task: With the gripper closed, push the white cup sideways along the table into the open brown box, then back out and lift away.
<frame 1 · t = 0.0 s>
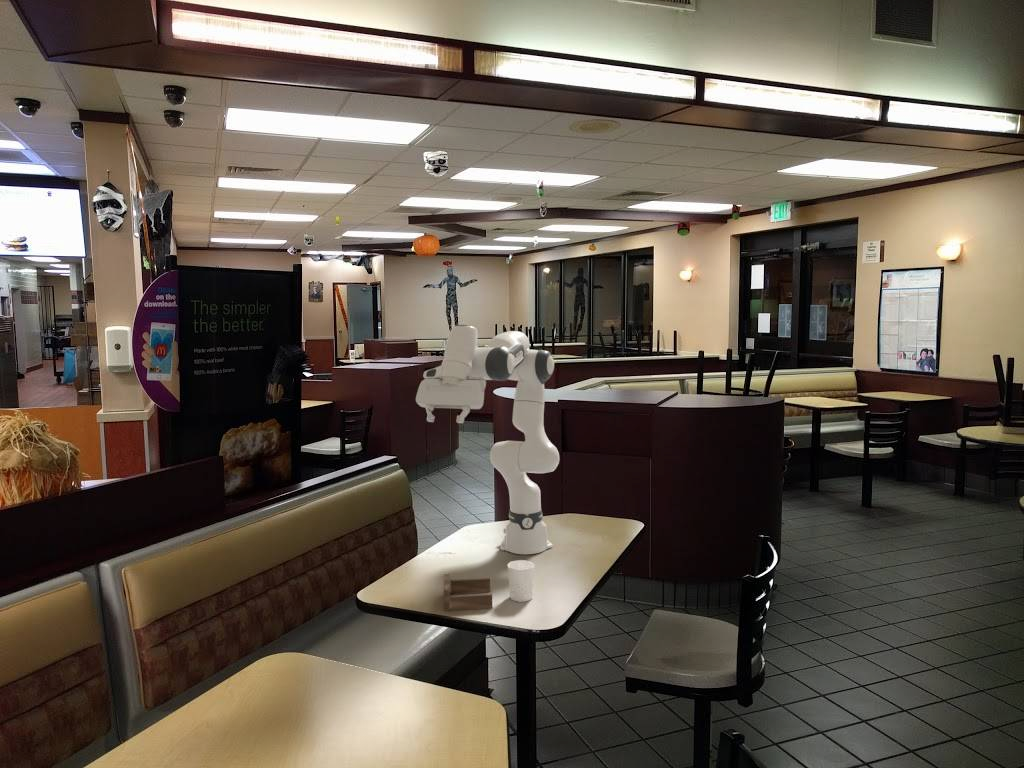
hand: (444, 421, 188), 54 cm above the table, tool tilted 30°, fingers open, 8 cm apart
open brown box: (471, 600, 200), on the table
white cup: (521, 598, 201), on the table
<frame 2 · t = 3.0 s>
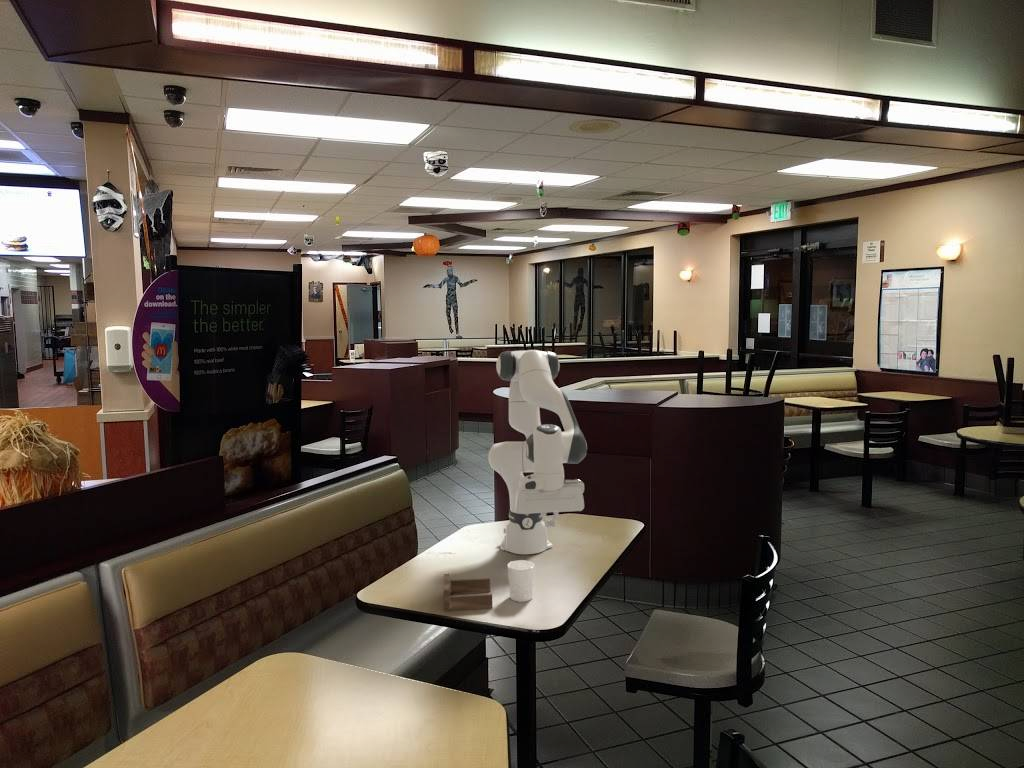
hand: (550, 526, 200), 21 cm above the table, tool pointing down, fingers closed
nothing on the table moved.
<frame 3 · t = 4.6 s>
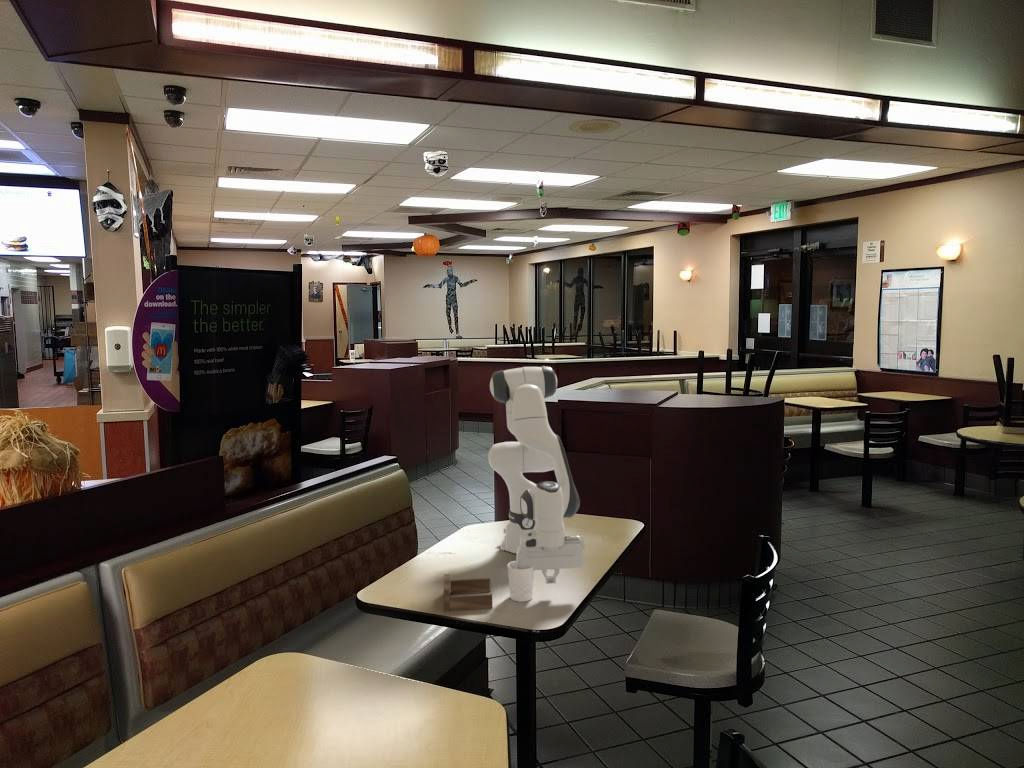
hand: (550, 582, 201), 4 cm above the table, tool pointing down, fingers closed
nothing on the table moved.
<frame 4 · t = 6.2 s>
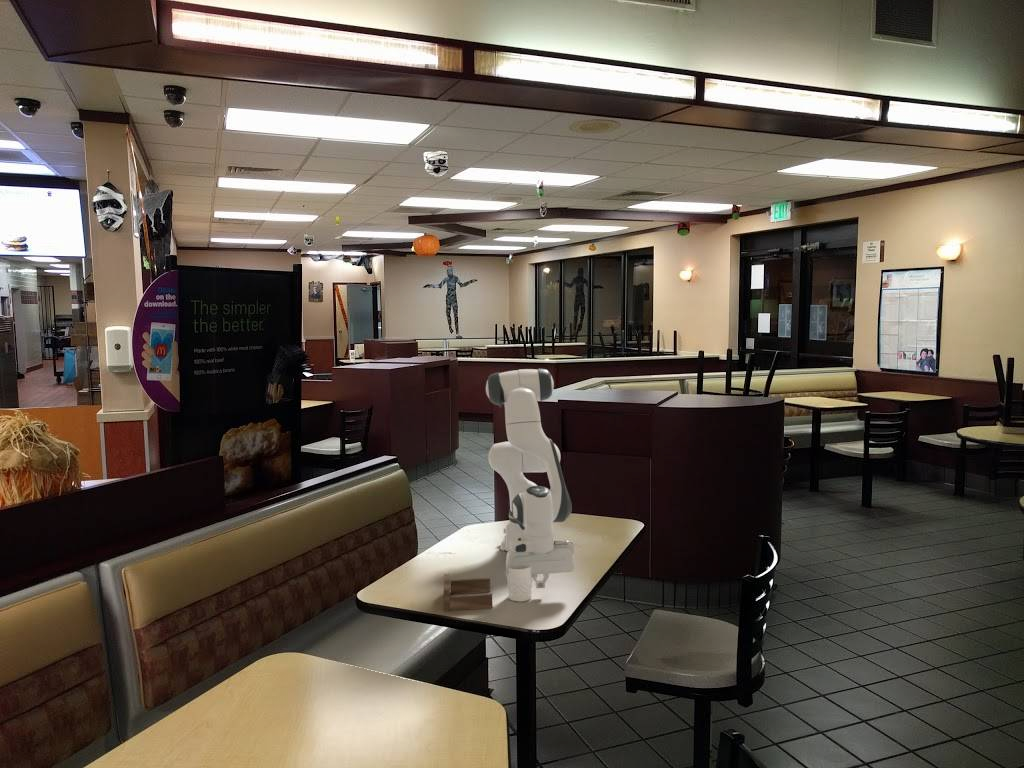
hand: (540, 587, 201), 3 cm above the table, tool pointing down, fingers closed
white cup: (520, 597, 201), on the table, touching gripper
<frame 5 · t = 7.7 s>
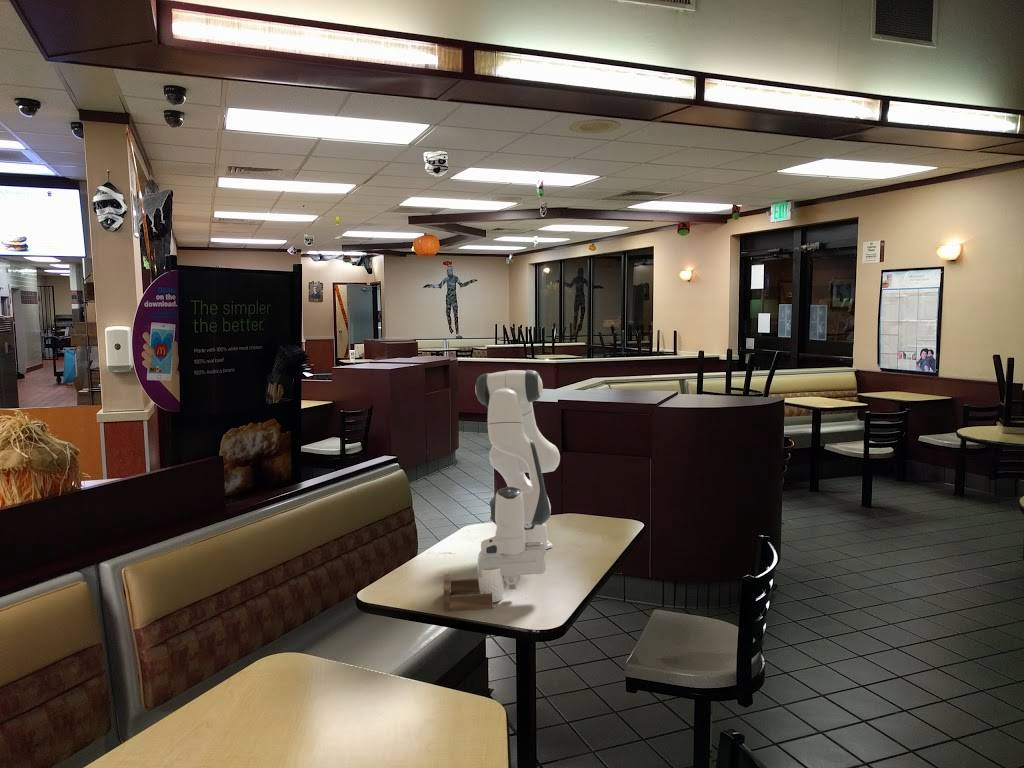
hand: (511, 589, 200), 3 cm above the table, tool pointing down, fingers closed
white cup: (491, 598, 201), on the table, touching gripper
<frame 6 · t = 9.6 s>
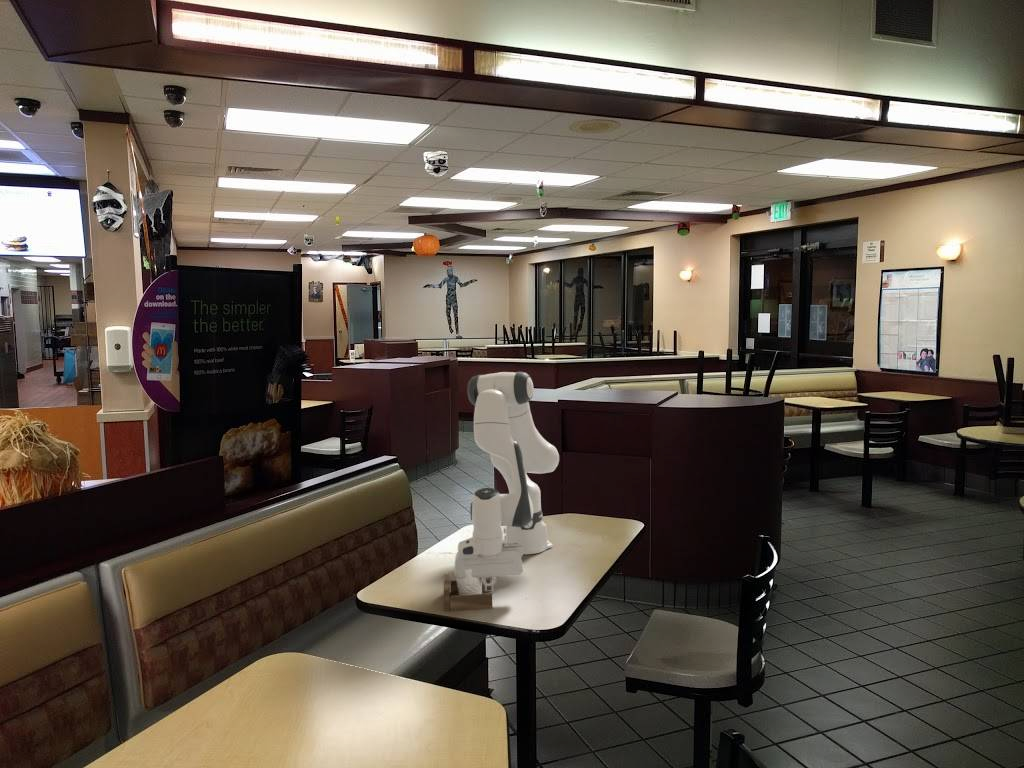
hand: (489, 590, 199), 3 cm above the table, tool pointing down, fingers closed
white cup: (470, 598, 201), resting in open brown box, touching gripper
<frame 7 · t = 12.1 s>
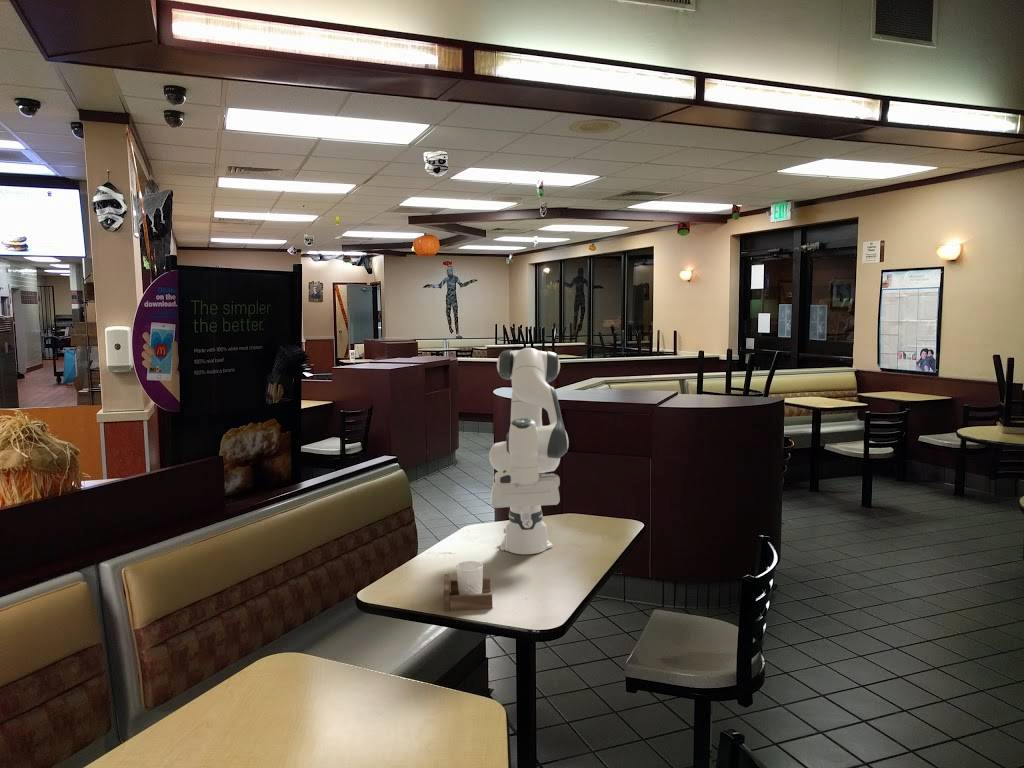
hand: (525, 520, 200), 23 cm above the table, tool pointing down, fingers closed
white cup: (470, 598, 201), resting in open brown box
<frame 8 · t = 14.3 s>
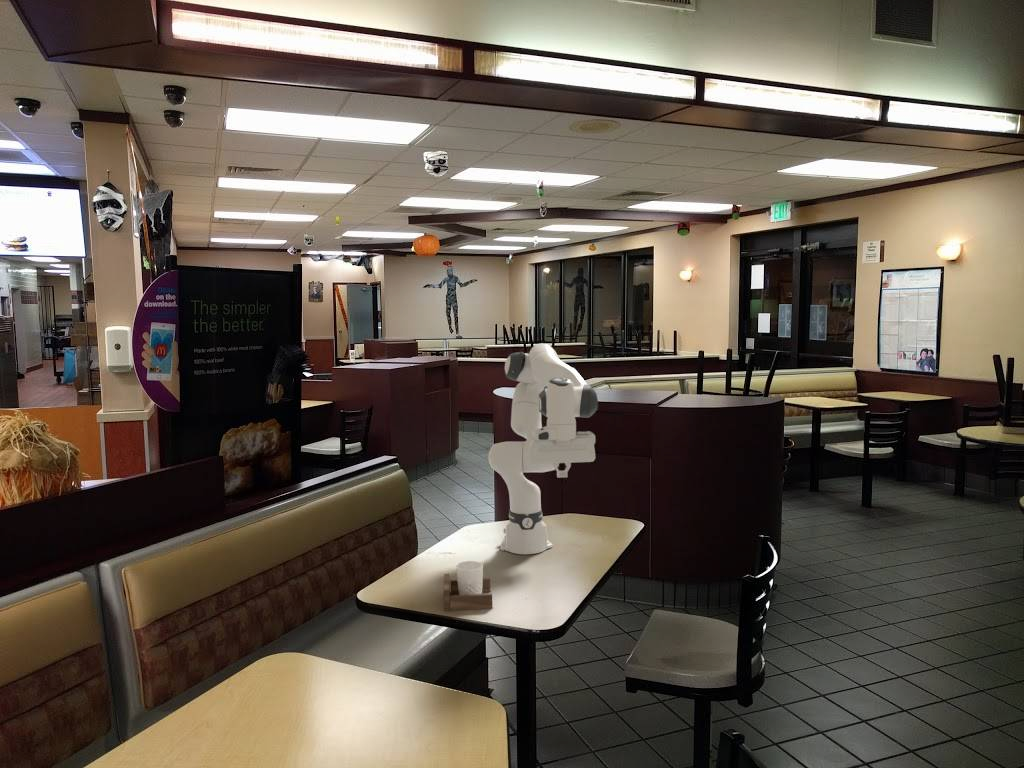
hand: (562, 477, 206), 34 cm above the table, tool pointing down, fingers closed
nothing on the table moved.
at the end: white cup inside the target area on the open brown box (2.1 cm from its centre), point 0.0 cm above the open brown box's base; white cup tilted 0°; the gripper is holding nothing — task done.
